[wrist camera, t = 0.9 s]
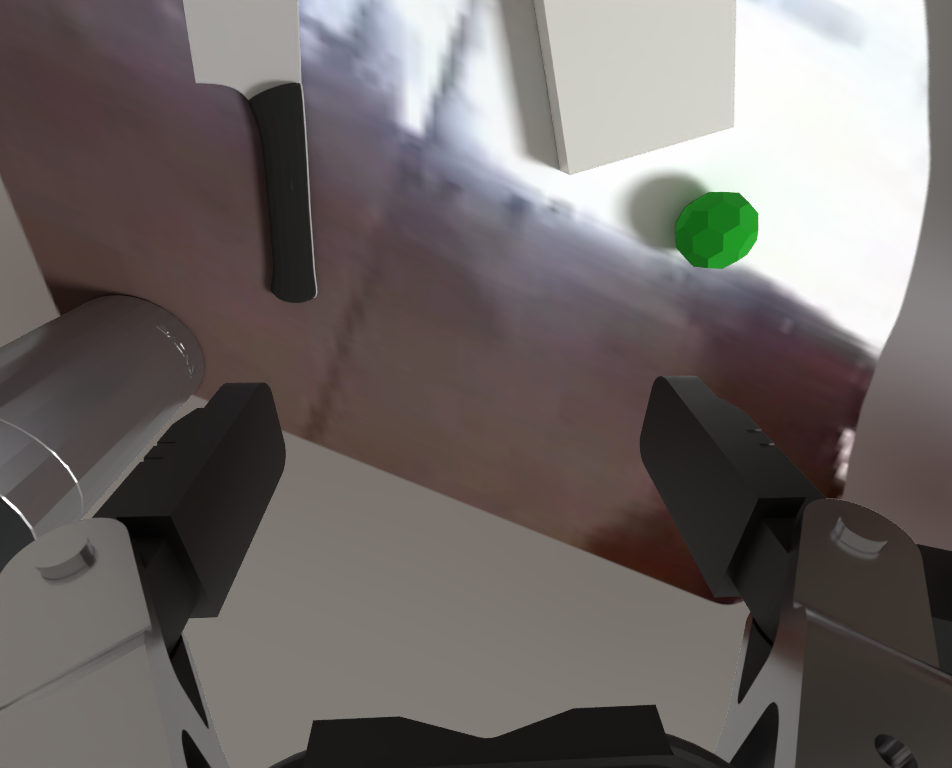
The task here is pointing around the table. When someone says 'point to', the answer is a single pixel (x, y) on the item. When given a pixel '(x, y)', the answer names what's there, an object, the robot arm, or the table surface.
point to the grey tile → (635, 75)
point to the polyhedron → (716, 230)
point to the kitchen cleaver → (266, 116)
